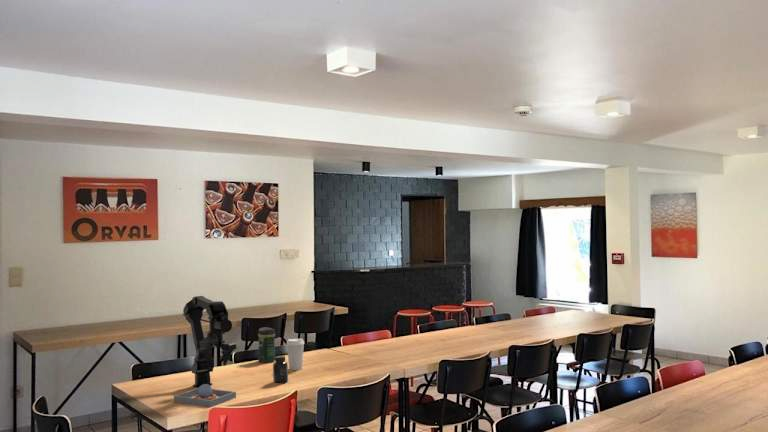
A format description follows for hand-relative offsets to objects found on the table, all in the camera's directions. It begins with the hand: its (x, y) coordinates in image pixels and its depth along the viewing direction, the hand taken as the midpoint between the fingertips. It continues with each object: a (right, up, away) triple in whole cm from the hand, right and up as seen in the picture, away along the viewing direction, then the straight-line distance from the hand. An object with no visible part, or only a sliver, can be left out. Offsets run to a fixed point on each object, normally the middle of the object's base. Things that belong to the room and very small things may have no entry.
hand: (216, 364), depth 289 cm
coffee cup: (+29, -13, +44) cm, 55 cm away
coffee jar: (+11, -13, +65) cm, 67 cm away
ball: (-1, -8, -14) cm, 16 cm away
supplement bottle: (+26, -12, +16) cm, 33 cm away
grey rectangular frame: (-1, -12, -14) cm, 18 cm away
